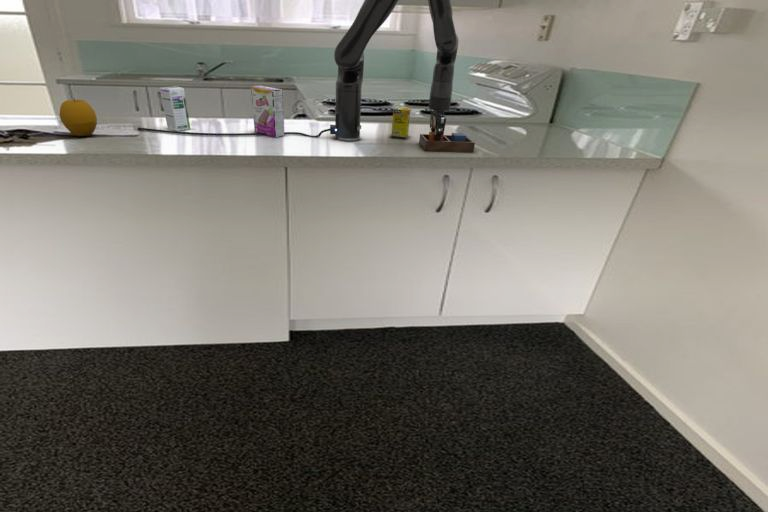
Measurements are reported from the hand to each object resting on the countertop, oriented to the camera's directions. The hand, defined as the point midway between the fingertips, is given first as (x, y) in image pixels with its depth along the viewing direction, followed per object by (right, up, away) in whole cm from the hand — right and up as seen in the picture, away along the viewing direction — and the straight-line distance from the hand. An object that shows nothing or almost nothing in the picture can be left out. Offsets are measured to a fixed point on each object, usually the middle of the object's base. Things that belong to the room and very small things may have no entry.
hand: (434, 143), depth 154 cm
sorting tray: (+4, -1, +1) cm, 5 cm away
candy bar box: (-62, +4, +3) cm, 62 cm away
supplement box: (-12, +6, +13) cm, 19 cm away
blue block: (+9, -1, +2) cm, 9 cm away
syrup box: (-95, +5, +1) cm, 95 cm away
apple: (-118, -2, -16) cm, 119 cm away
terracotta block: (0, -1, 0) cm, 1 cm away
